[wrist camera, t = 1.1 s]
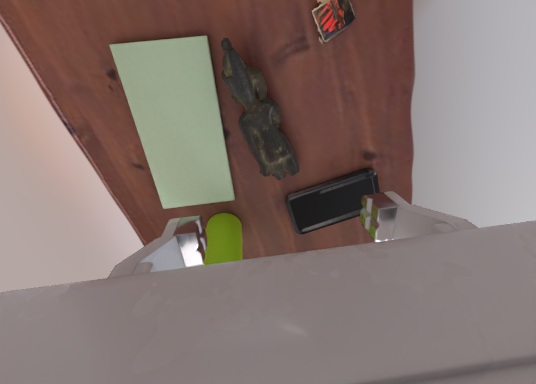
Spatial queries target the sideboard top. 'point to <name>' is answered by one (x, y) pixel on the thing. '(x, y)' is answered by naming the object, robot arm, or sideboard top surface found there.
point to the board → (177, 118)
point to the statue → (258, 116)
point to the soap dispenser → (223, 239)
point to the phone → (331, 201)
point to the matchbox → (333, 17)
